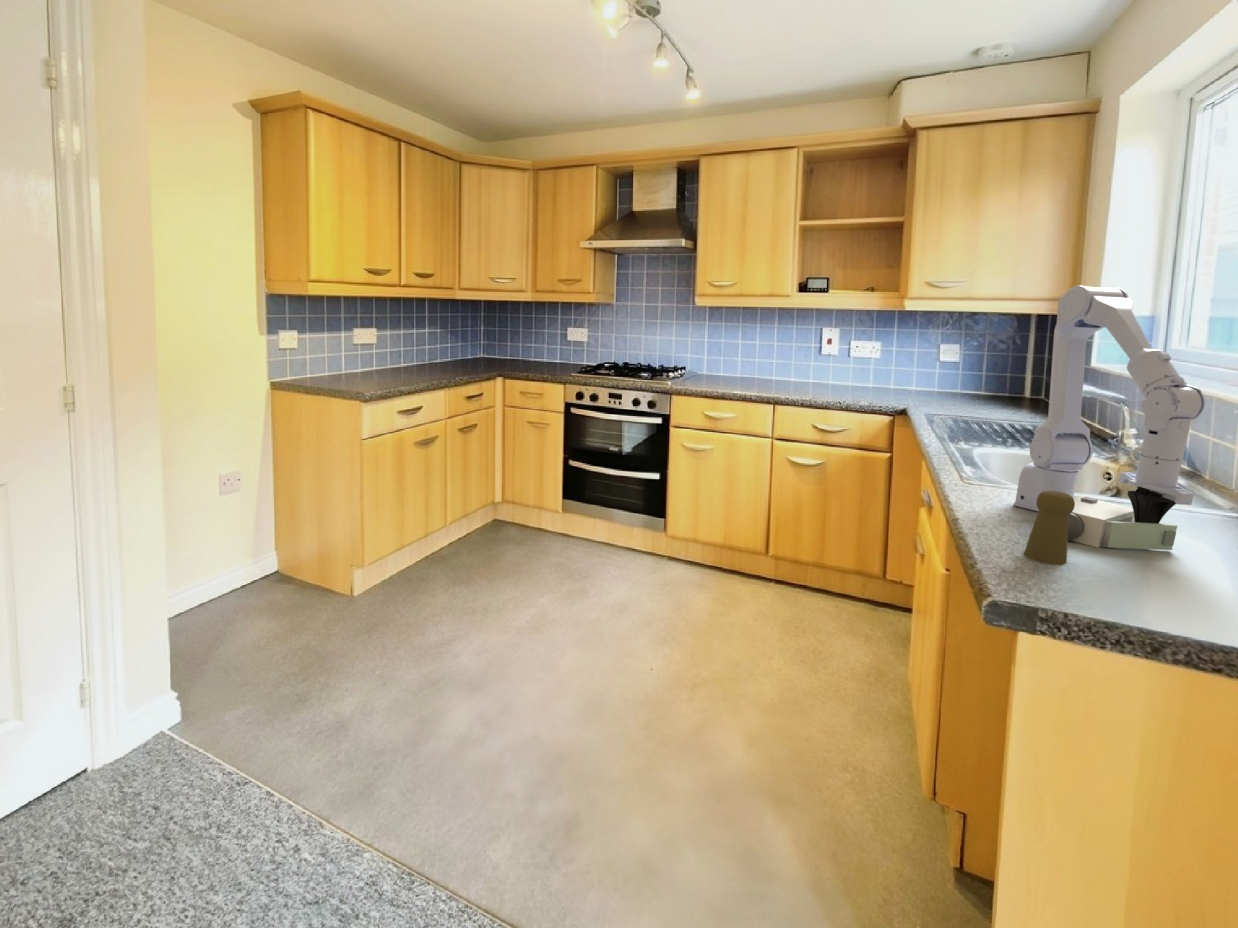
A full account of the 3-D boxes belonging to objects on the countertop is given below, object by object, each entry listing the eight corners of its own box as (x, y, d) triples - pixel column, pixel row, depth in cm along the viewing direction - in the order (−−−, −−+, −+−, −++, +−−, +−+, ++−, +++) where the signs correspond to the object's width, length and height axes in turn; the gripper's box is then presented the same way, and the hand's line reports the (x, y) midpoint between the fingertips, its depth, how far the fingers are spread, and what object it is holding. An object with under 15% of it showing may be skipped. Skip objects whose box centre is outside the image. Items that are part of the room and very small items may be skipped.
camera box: (1033, 532, 126) (1038, 502, 125) (1074, 520, 135) (1079, 492, 134) (1093, 549, 118) (1100, 517, 117) (1133, 535, 127) (1139, 506, 126)
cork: (1027, 548, 117) (1039, 485, 115) (1069, 557, 114) (1082, 492, 111) (1020, 557, 113) (1032, 492, 110) (1063, 567, 109) (1077, 499, 107)
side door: (1100, 545, 120) (1105, 520, 119) (1167, 548, 119) (1173, 524, 118) (1106, 548, 118) (1111, 523, 117) (1174, 551, 118) (1180, 526, 117)
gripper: (1108, 447, 125) (1094, 519, 128) (1168, 465, 111) (1150, 546, 114) (1148, 449, 125) (1132, 521, 128) (1213, 467, 111) (1194, 548, 114)
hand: (1143, 533), depth 121 cm, fingers closed
